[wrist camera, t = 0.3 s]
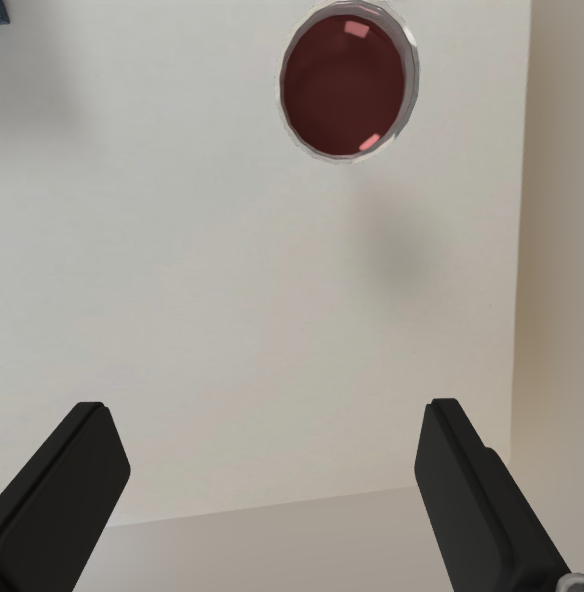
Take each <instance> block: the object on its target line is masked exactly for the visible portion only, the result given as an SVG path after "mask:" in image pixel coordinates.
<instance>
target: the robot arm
mask: <svg viewBox="0 0 584 592" xmlns="http://www.w3.org/2000/svg"><path fill="white" fill-rule="evenodd" d="M414 470H415V477H416V481H417V483H418V486H419V489H420V492H421V495H422V498H423V501H424V504H425V507H426V510H427V513H428V516H429V519H430V522H431V525H432V528H433V531H434V534H435V537H436V539H437V543H438V546H439V549H440V551H441V554H442V557H443V560H444V563H445V566H446V569H447V572H448V575H449V578H450V581H451V584H452V587H453V589H454V592H584V574H581V573H572V572H571V571H570V569H569V568H568V566H567V564H566V563H565V561H564V560H563V558H562V556H561V555H560V553H559V552H558V550H557V548H556V547H555V545H554V544H553V542H552V540H551V539H550V537H549V536H548V534H547V532H546V531H545V529H544V528H543V526H542V524H541V523H540V521H539V519H538V518H537V516H536V515H535V513H534V511H533V510H532V508H531V507H530V505H529V503H528V502H527V500H526V499H525V497H524V495H523V494H522V492H521V491H520V489H519V487H518V486H517V484H516V483H515V481H514V480H513V478H512V476H511V475H510V473H509V471H508V470H507V468H506V466H505V465H504V463H503V462H502V460H501V458H500V457H499V456H498V454H497V453H496V452H495V451H494V450H493V449H492V448H488V447H485V446H484V444H483V442H482V441H481V439H480V437H479V436H478V434H477V432H476V431H475V429H474V427H473V426H472V424H471V422H470V421H469V419H468V417H467V416H466V414H465V412H464V411H463V409H462V407H461V406H460V404H459V402H458V401H457V400H456V399H455V398H440V399H433V400H432V403H431V404H427V405H426V408H425V413H424V418H423V424H422V429H421V434H420V439H419V445H418V450H417V455H416V460H415V467H414ZM130 471H131V468H130V464H129V462H128V459H127V456H126V453H125V451H124V448H123V445H122V443H121V440H120V437H119V435H118V432H117V429H116V427H115V424H114V421H113V418H112V416H111V413H110V410H109V408H108V407H105V406H104V404H103V403H102V402H80V403H77V404H76V405H75V406H74V407H73V409H72V410H71V411H70V412H69V413H68V415H67V416H66V417H65V418H64V419H63V421H62V422H61V423H60V424H59V425H58V427H57V428H56V429H55V430H54V431H53V432H52V434H51V435H50V436H49V437H48V438H47V440H46V441H45V442H44V443H43V444H42V446H41V447H40V448H39V449H38V450H37V452H36V453H35V454H34V455H33V456H32V457H31V459H30V460H29V461H28V462H27V463H26V465H25V466H24V467H23V468H22V469H21V471H20V472H19V473H18V474H17V475H16V477H15V478H14V479H13V480H12V481H11V482H10V484H9V485H8V486H7V487H6V488H5V490H4V491H3V492H2V493H1V494H0V592H72V591H73V589H74V587H75V585H76V583H77V581H78V579H79V577H80V575H81V573H82V571H83V569H84V567H85V565H86V563H87V561H88V559H89V557H90V555H91V553H92V551H93V549H94V547H95V545H96V543H97V541H98V539H99V537H100V535H101V533H102V531H103V529H104V527H105V525H106V523H107V521H108V519H109V517H110V515H111V513H112V511H113V509H114V507H115V505H116V503H117V501H118V499H119V497H120V495H121V493H122V492H123V490H124V488H125V486H126V484H127V482H128V479H129V476H130Z"/></svg>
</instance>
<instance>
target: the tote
mask: <svg viewBox="0 0 584 592" xmlns="http://www.w3.org/2000/svg"><path fill="white" fill-rule="evenodd" d="M0 24H10V22H9V19H8V16H7V13H6V10H5V6H4V3H3V0H0Z"/></svg>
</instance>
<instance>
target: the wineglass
mask: <svg viewBox="0 0 584 592" xmlns="http://www.w3.org/2000/svg"><path fill="white" fill-rule="evenodd" d="M420 70H421V69H420V63H419V58H418V52H417V46H416V42H415V40H414V38H413V36H412V34H411V32H410V30H409V28H408V26H407V24H406V22H405V21H404V19H403V18H402V17H401V16H400V15H399V14H398V13H397V12H395V11H394V10H393V9H392V8H391V7H390V6H389V5H388V4H387V3H386V2H384V1H381V0H325V1H323V2H321V3H319V4H317V5H314V6H313V7H312V8H311V9H310V10H309V11H308V12H307V13H306V14H305V15H304V16H303V17H302V18H301V19H300V20H299V21H298V22H297V23H296V24H295V25H294V26H293V27H292V29H291V31H290V33H289V35H288V37H287V39H286V41H285V43H284V44H283V46H282V48H281V50H280V54H279V59H278V64H277V68H276V73H275V94H276V105H277V108H278V111H279V114H280V117H281V120H282V123H283V126H284V129H285V130H286V132H287V133H288V134H289V136H290V137H291V139H292V140H293V141H294V143H295V144H296V146H297V147H299V148H300V149H302V150H303V151H304V152H306V153H307V154H308V155H310V156H311V157H313V158H315V159H318V160H322V161H325V162H328V163H331V164H354V163H358V162H360V161H363V160H365V159H368V158H371V157H373V156H376V155H377V154H378V153H379V152H381V151H382V150H383V149H384V148H386V147H387V146H388V145H390V144H391V143H392V142H393V141H394V140H395V139H396V137H397V136H398V135H399V133H400V132H401V130H402V129H403V128H404V126H405V125H406V124H407V122H408V121H409V118H410V115H411V113H412V110H413V107H414V105H415V102H416V100H417V97H418V89H419V79H420Z"/></svg>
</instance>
